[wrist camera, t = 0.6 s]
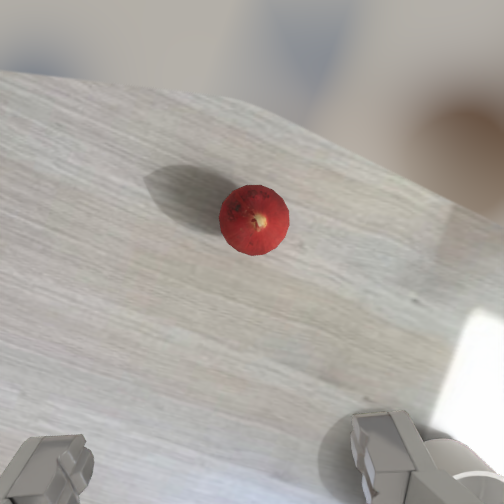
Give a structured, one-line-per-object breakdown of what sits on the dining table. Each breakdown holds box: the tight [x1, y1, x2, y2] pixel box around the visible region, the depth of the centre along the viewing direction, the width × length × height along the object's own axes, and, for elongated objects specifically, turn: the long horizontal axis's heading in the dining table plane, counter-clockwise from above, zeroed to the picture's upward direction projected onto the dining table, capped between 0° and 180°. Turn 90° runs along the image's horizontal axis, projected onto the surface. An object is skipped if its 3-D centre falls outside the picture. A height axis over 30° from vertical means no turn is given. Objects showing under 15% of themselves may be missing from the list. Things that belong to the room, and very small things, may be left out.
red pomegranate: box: [219, 185, 289, 256], centre depth 25 cm, size 6×6×8 cm
